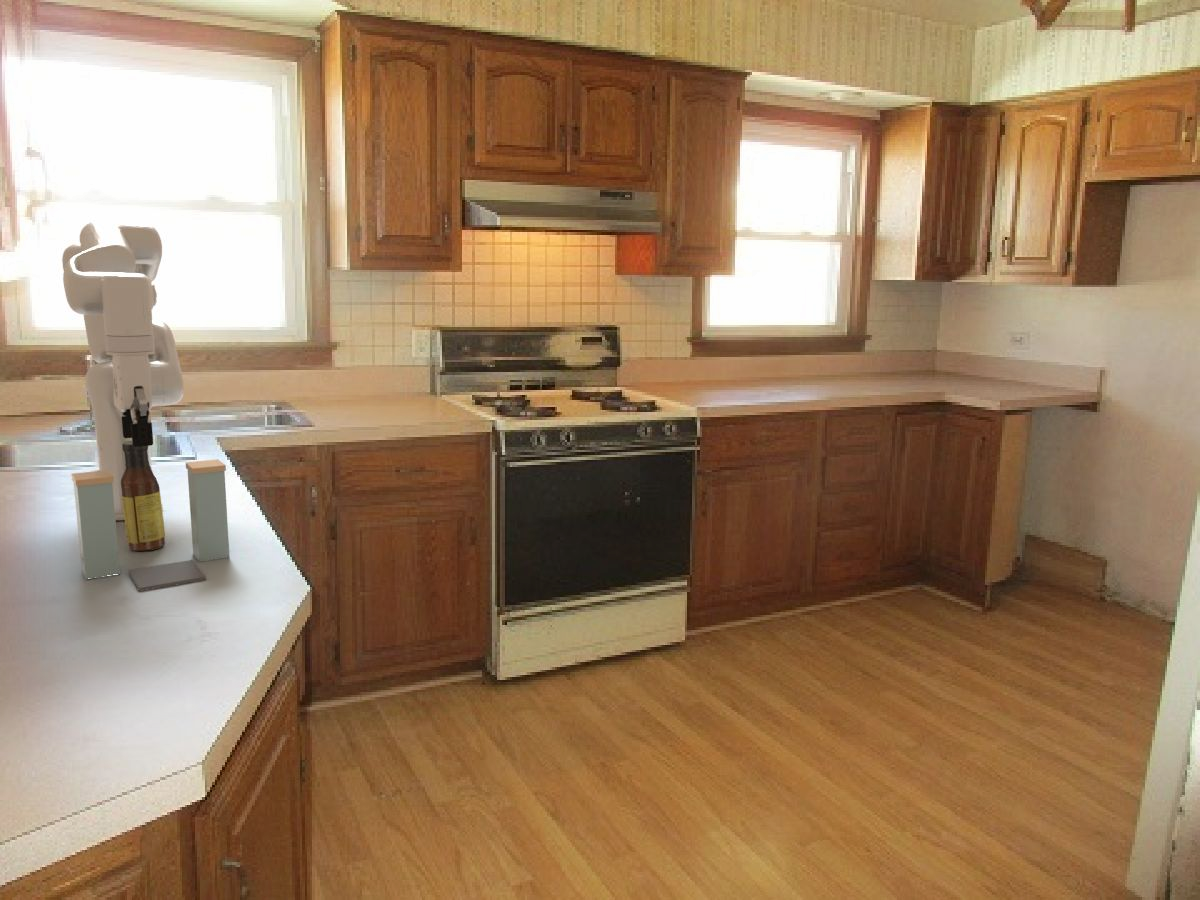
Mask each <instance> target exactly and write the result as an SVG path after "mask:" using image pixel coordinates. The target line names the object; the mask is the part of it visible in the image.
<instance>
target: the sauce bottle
mask: <svg viewBox="0 0 1200 900" xmlns="http://www.w3.org/2000/svg"><path fill="white" fill-rule="evenodd" d="M122 447H123V451H124V453H125V461H126V463H125V465H126V469H125V472H124V474H123V476H122V479H121V488H122V502H123V510H124V518H125V520H124V524H125V530H126V533H125V534H126V540H127V541H126V542H128V547H129V549H130V550H131V551H136V550H139V551H138V552H144V550H145V552H147V551H146V550H149V551H154V550H153V549H155V550H157V548H158V549H160V548H162V547H163V546H164V545H165V544H166V540H165V536H166V531H165V523H164V515H163V514H164V513H163V509H162V507H163V504H162V497H161V490H160V485H159V482H158V480H157V478H156V476H155V474H154V473H153V469H152V466H151V467H150V465H149V461H148V452H147V450H148V446H139V447H134V446H133V444H132V441H126V442H124V443H122Z"/></svg>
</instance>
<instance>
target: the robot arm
mask: <svg viewBox="0 0 1200 900" xmlns="http://www.w3.org/2000/svg"><path fill="white" fill-rule="evenodd" d="M162 256H163V245H162V239H161V236H160V234H159V232H158V230H157V229H156V228H155V227H154V226H153V225H152V224H149V223H147V222H143V221H141V222H140V221H123V220H105V219H103V220H94V221H91V222H89V223H87V224H86V225H84V226H83V227H82V229H81V231H80V233H79V242H78V243H75V244H72V245H69V246H68V247H67V248H65V249H64V251H63V254H62V256H61V257H62V258H61V259H62V260H61V261H62V269H63V277H62V279H63V280H62V281H63V282H62V283H63V289H64V293H65V297H66V301H67V304H68V306H69V308H70V309H71V310H72V311H74V312H75V313H77V314H79V315H83V320H84V326H85V327H84V328H85V332H86V337H87V338H86V339H87V343H88V348H89V349H88V350H89V352H90V355H91V358H92V359H93V360H94V361H95V362H96V363H95V364H93V365H92V366H91V367H89V369H88V370H87V372H86V375H85V384H86V390H87V393H88V397H89V401H90V406H91V411H92V415H93V422H94V430H95V439H96V451H97V458H98V459H97V460H98V471H104V470H109V472H110V473H111V474H112V475H113V478H114V483H112V485H113V497H114V508H115V520H116V521H125V518H124V510H123V502H122V488H121V479H122V476H123V474H124V472H125V469H126V465H125V463H126V461H125V453H124V451H123V447H122V443H124V442H126V441H132V444H133V446H134V447H139V446H148V450H147V452H148V461H149V465H150V467H151V468H152V460H151V459H152V457H151V446H153V445H154V435H153V434H154V433H153V424H152V418H151V413H150V410H151V409H153V407H165V406H172V405H176V404H178V403H180V401H181V400H182V399H183V397H184V392H185V385H184V378H183V373H182V368H181V364H180V359H179V355H178V349H177V346H176V342H175V338H174V335H173V332H172V330H171V328H170V326H169V324H168V323H166V322H163V321H161V320H157V319H155V320H154V319H153V314H152V310H153V308H154V307H155V306H156V305H157V297H158V296H157V295H158V294H157V290H156V285H155V283H154V282H153V281H154V280H155V279H156V277H157V275H158V271H159V267H160V264H161V262H162ZM163 509H164V508H163V506H162V510H163Z"/></svg>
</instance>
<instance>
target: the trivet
mask: <svg viewBox="0 0 1200 900" xmlns="http://www.w3.org/2000/svg"><path fill="white" fill-rule="evenodd" d="M127 571H128V572H129V573H128V575H129V574H130V575H129V577H130V576H131V577H132V578H131V577H130V578H131V580H132V579H133V580H132V582H133V581H134V582H135V584H136V585H135V584H134V585H135V587H136V586H137V587H136V588H138V589H139V590H138V589H137V590H138V592H141V591H140V590H145V591H147V590H146V589H151V590H153V589H152V588H156V589H159V588H158V587H162V588H165V587H164V586H168V587H171V586H170V585H174V586H177V585H176V584H180V585H183V584H182V583H185V584H189V583H188V582H191V583H196V582H195V581H197V582H201V581H202V580H203V581H207V576H206V575H205V574H204V572H203V571H202V570H201V569H200V568H199V567H198V565H197V564H196V563H195V562H194V560H193V559H190V560H189V559H188V560H181V561H177V562H176V561H175V562H171V563H164V564H158V565H150V566H145V567H138V568H133V569H128V570H127ZM134 582H133V583H134Z"/></svg>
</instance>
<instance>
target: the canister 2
mask: <svg viewBox="0 0 1200 900" xmlns="http://www.w3.org/2000/svg"><path fill="white" fill-rule="evenodd" d="M185 469H187V483H188V495H189V496H188V497H189V513H190V525H191V529H190V530H191V541H192V554H194V555H195V556H196V557H195V556H194V555H193V556H194V557H195V558H196V560H199V561H203V562H208V561H207V560H209V561H213V559H215V560H220V559H219V558H222V559H226V558H225V557H228V558H230V543H229V542H230V541H229V525H228V509H227V507H228V506H227V494H226V477H225V476H226V475H225V473H226V472H225V471H227V467H226V464H225V463H223V462H222V461H221V460H219V458H218V459H208V460H207V459H206V460H199V461H188V462H185ZM199 561H198V562H199Z"/></svg>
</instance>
